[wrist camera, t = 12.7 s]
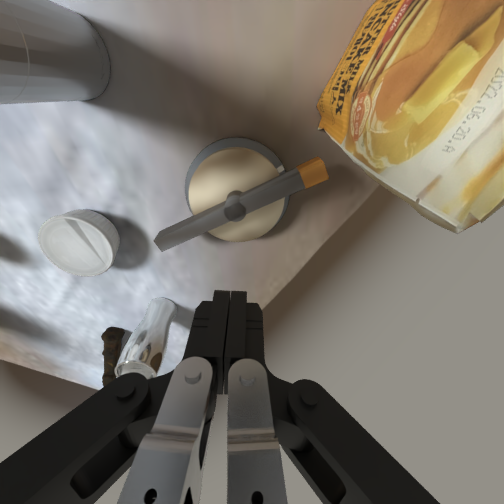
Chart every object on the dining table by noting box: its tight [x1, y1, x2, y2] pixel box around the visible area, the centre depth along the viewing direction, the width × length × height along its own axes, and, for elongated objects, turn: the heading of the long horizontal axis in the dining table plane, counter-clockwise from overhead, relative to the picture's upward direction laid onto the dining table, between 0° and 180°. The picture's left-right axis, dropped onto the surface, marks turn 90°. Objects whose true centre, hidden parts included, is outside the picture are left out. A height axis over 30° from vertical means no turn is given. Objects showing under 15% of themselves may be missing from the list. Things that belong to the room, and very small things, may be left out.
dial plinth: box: [185, 137, 289, 231], centre depth 41 cm, size 16×16×2 cm
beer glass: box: [115, 298, 177, 379], centre depth 48 cm, size 7×7×15 cm
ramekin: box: [38, 209, 120, 276], centre depth 43 cm, size 11×11×5 cm
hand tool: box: [101, 327, 125, 387], centre depth 60 cm, size 19×4×5 cm, turn 161°
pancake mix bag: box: [316, 0, 504, 234], centre depth 21 cm, size 7×19×28 cm, turn 153°
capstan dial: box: [154, 147, 329, 252], centre depth 37 cm, size 14×25×6 cm, turn 116°
